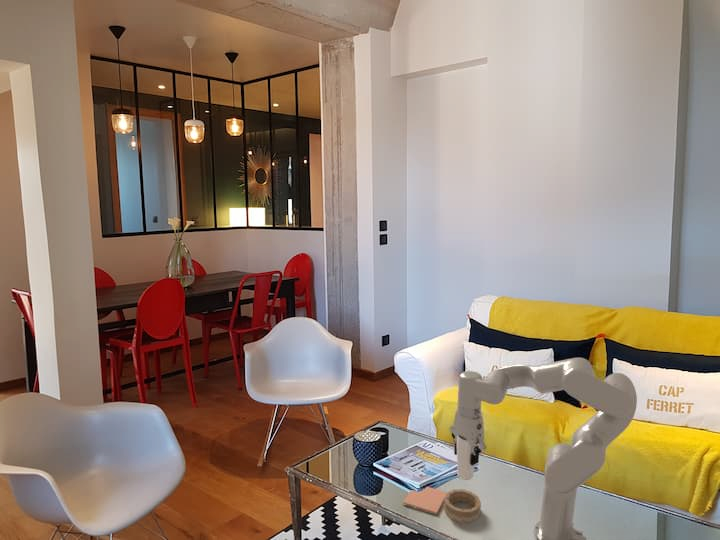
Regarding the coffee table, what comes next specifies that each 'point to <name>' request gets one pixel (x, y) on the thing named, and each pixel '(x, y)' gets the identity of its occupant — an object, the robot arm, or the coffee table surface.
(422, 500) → the terracotta tile
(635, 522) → the coffee table surface
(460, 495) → the collar ring
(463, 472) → the drinking glass
